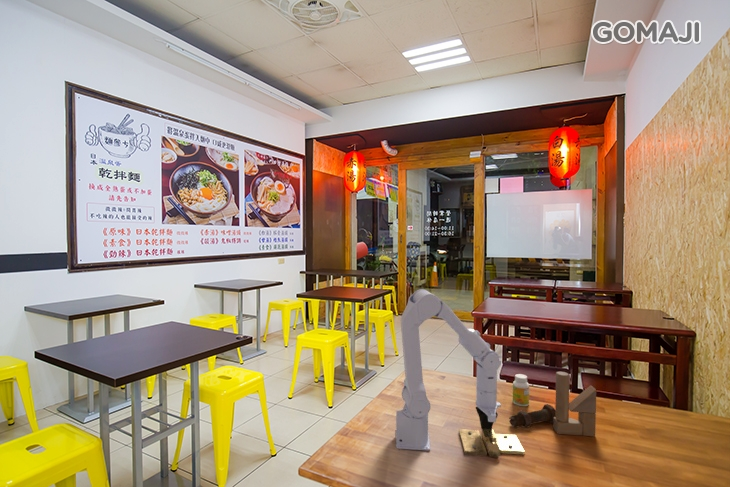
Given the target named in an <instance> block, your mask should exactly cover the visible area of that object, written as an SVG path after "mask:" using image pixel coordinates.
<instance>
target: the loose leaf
mask: <svg viewBox="0 0 730 487" xmlns="http://www.w3.org/2000/svg"><path fill="white" fill-rule="evenodd" d="M481 438H482V441H483V444H484V446H485V449H487V448H486V445H485V442H486V440H487V439H489V438H493V439H495V440H496V442H497V444H498V446H499V449H500V451H501V454H511V455H525V454H526V453H525V450H524V448H523V446H522V444H521V442H520V440H519V439H518V437H517V435H516V434H506V433H505V434H503V433H495V431H494V428H492V429H484V428H482V429H481Z"/></svg>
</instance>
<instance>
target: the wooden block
mask: <svg viewBox="0 0 730 487" xmlns="http://www.w3.org/2000/svg"><path fill="white" fill-rule="evenodd" d="M554 409H555V417H553V424H552V426H553V427H552V428H553V430H554V431H555V432H556V434H558V435H571V436H584V437H596V416H597V414H596V413H597V390H596V388H595V387H594V386H592V385H591V384H590V385H589V386H588V387H587V388H585V389H584V390H583V391H582V392H580V393H579V395H577V396H576V397H574V399H572V400H571V401H570V374H569V373H568V372H565V371H556V372H555V407H554ZM570 412H573V413H578V417H577V419H575V418H572V417H569V415H570Z"/></svg>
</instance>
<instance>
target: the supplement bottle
mask: <svg viewBox="0 0 730 487" xmlns="http://www.w3.org/2000/svg"><path fill="white" fill-rule="evenodd" d="M512 402H513V404H514V405H516V406H520V407H527V406H529V404H530V384H529V382H528V376H527V375H526V374H522V373H517V374H515V375H514V381H512Z"/></svg>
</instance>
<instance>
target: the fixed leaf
mask: <svg viewBox="0 0 730 487" xmlns="http://www.w3.org/2000/svg"><path fill="white" fill-rule="evenodd" d="M479 430H480V429H479ZM479 430H478V429H477V430H476V429H465V428H464V429H460V428H459V429H458V434H459V437H460V441H461V445H462V448H463V453H464V455H468V456H481V457H482V456H485V457H486V456H487V455H489V456H490V457H491V458H493V459H497V458H499V457H500V456H501V454H502V453H501V451H500V449H499V446H498V444H497V442H496V440H495V439H493V438H489V439H487V440H486V442H485V445H486V448H485V446H484V444H483V441H482V435H481V432H480V431H479ZM487 453H488V454H487Z"/></svg>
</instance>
